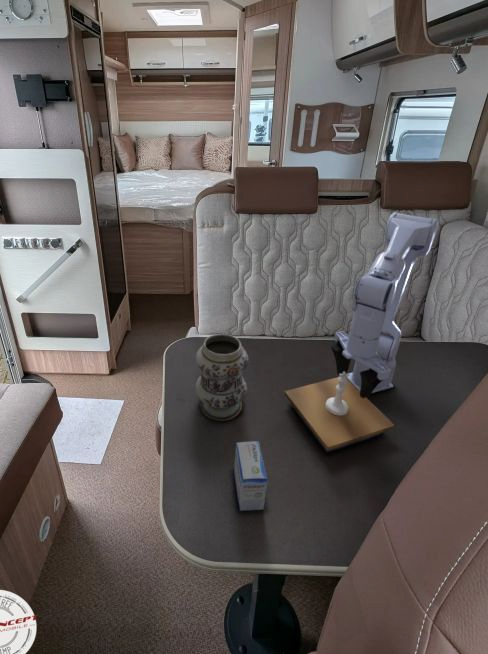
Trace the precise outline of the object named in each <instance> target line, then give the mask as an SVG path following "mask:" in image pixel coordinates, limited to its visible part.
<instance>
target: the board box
mask: <svg viewBox="0 0 488 654" xmlns="http://www.w3.org/2000/svg"><path fill="white" fill-rule="evenodd" d="M338 377H339V376H337V377H334V378H329V379H326V380H322V381H318V382H315V383H311V384H307V385H303V386H299V387H295V388H292V389H288V390H284V394H283V395H284V396H285V398H287V400H288V401H289V403H290V404H291V408H292V409H293V410H294V411H295V413H296V415H298V417H299V419H300V420H301V421H302V422H303V423H304V425H305V426H306V427H307V429H308V430H309V432H310V433H311V434H312V435H313V437H314V438H315V440H316V441H317V442H318V443H319V444H320V446H321V447H322V448H323V450H324V452H325V453H327V454H328V453H331V452H334V451H337V450H340V449H343V448H345V447H348V446H352V445H354V444H358V443H360V442H364V441H367V440H370V439H372V438H375V437H378V436H380V435H381V433H384V432H388V431H390V430H393V429H395V427H396V425H395V424H394V423H393V422H392V421H391V420H390V419H389V418H388V417H387V416H386V415H385V414H384V413H382V411H381V410H379V408H377V406H375V404H374V403H373V402H371V401H370V400H369V399H368V397H365V398H361V397H360V391H359V390H358V389H357V388H356V387H355V386H354V385H353V384H352V383H351V382H350V381H349V380H348V379H347V383H346V384H345V388H346V391H344V392H342V400H344V401H345V402H346V403H347V405H348V412H347V413H346V414H345V415H335V414H332V413H331V412H329V411H328V410H327V408H326V406H325V404H326V401H327V400H328V399H329V398H333V397H336V394H337V391H338V390H337V389H336V386H337V385H339V384H338Z"/></svg>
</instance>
